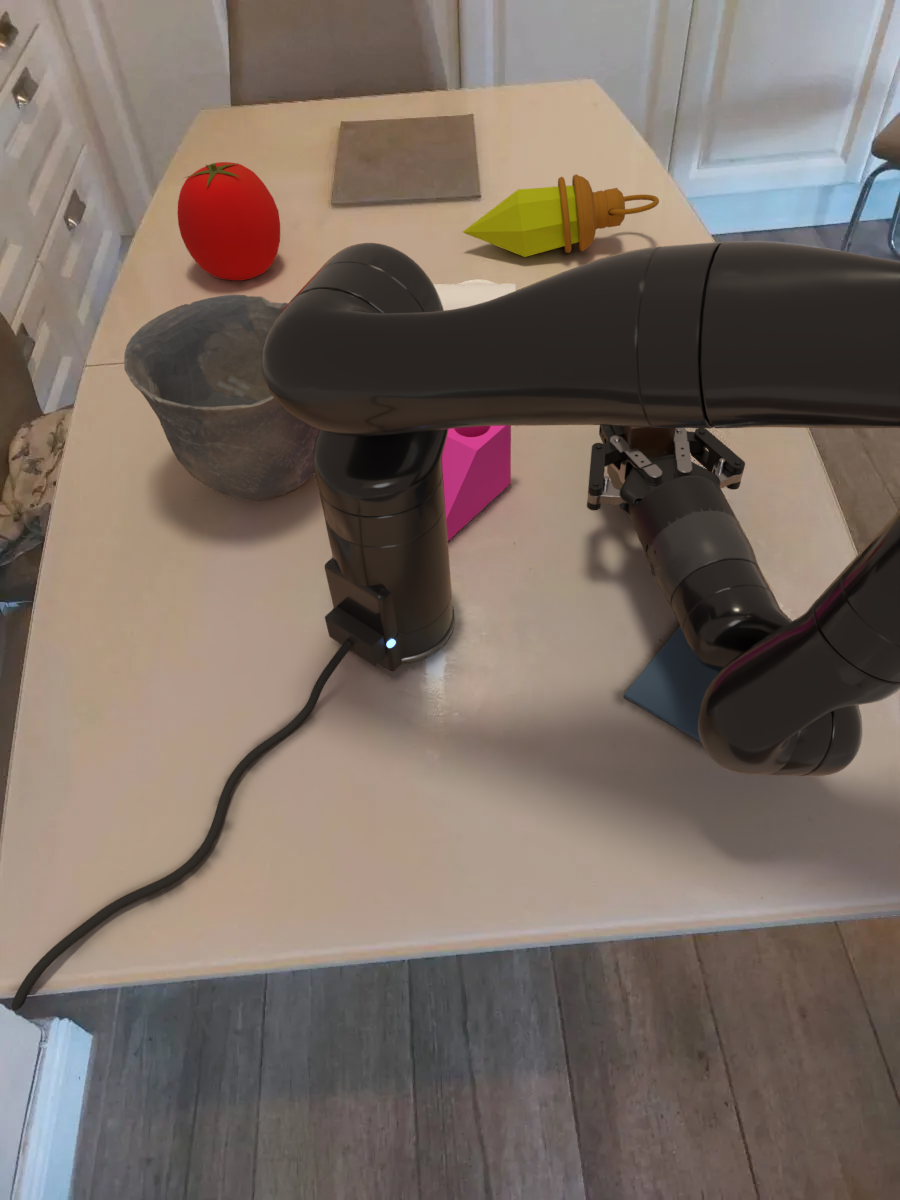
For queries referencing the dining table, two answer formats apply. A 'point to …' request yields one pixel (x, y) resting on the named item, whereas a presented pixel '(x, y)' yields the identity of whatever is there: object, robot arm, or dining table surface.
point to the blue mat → (673, 685)
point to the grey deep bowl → (221, 396)
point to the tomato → (229, 221)
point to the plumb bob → (554, 217)
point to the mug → (471, 293)
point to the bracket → (474, 471)
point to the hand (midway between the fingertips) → (632, 415)
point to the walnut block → (645, 445)
